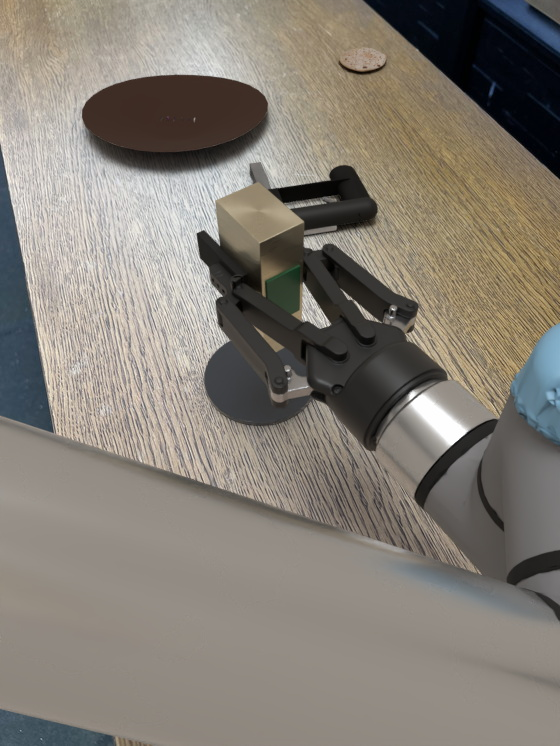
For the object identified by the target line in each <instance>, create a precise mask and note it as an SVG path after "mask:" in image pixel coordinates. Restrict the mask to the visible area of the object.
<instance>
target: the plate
mask: <svg viewBox="0 0 560 746" xmlns="http://www.w3.org/2000/svg"><path fill="white" fill-rule="evenodd" d="M268 112H269V102H268V100H267V98H266V96H265V95H264V94H263V93H262V92H261V91H260V90H259V89H257V88H255V87H254V86H252V85H250V84H247V83H245V82H242V81H239V80H235V79H230V78H226V77H221V76H212V75H203V74H202V75H200V74H162V75H161V74H159V75H150V76H144V77H143V76H142V77H138V78H137V77H136V78H132V79H127V80H123V81H119V82H117V83H114V84H111V85H109V86H107V87H105V88H102V89H100V90H99V91H97V92H95V93H94V94H93V95H91V96H90V97H89V98H88V99H87V100H86V101H85V102H84V105H83V107H82V109H81V120H82V122H83V124H84V127H85V128H86V129H88V130H89V132H91V134H93V135H94V136H96V137H97V138H98V139H101V140H102V141H104V142H106V143H109V144H111V145H115V146H117V147H120V148H124V149H125V148H126V149H130V150H132V151H133V150H134V151H141V152H150V153H151V152H152V153H179V152H189V151H196V150H203V149H206V148H211V147H216V146H218V145H221V144H222V145H223V144H225V143H228V142H231V141H234V140H235V139H238V138H239V137H241V136H244V135H246V134H247V133H249V132H250V131H252V130H253V129H254V128H256V127H258V126H259V124H260V123H261V122H262V121H264V119H265V118H266V115H267V113H268Z"/></svg>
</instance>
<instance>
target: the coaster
mask: <svg viewBox="0 0 560 746" xmlns="http://www.w3.org/2000/svg"><path fill="white" fill-rule="evenodd" d="M276 353H277V354H278V356H279V357H280V359H281V361H282V363H283V365H284V366H285V365H289V366H291V368H292V369H293V370H294V371H295V372H296V374H297V375H299V376H302V377H306V366H304V365H303V364H301V363H300V362H298V361H297V360H296V359H295V357H294V355H293V354H292V353H291V352H290V351H289V350H287V349H286V348H283V349H281V350H279V351H278V352H276ZM203 382H204V383H203V384H204V391H205V394H206V396H207V398H208V400H209V402H210V403H211V405H212V406H213V407H214V409H216V410H217V412H219V413H220V414H221V415H222V416H225V417H226V418H228V419H229V420H232V421H233V422H237V423H240V424H243V425H249V426H259V427H260V426H272V425H276V424H280V423H283V422H285V421H289V420H290V419H291V418H294V417H295V416H297V415H298V414H300V413H301V412H302V411H303V410H304V409H305V408H306V407H307V406H308V405H309V404H310V402H311V401H312V400H313V398H312V397H311V396H310V395H307V396H302V397H297V398H292V399H288V404H287V406H286V407H284V408H282V409H278V408H275V407H274V406H273V405H272V403H271V400H270V396H269V392H268V389H267V385H266V384H265V383H264V381H263V380H262V379H261V378H260V377H259V375H258V374H257V373H256V372H255V370H254V369H253V368H252V367H251V365H250V364H249V363H248V362H247V361H246V359H245V358H244V357H243V356H242V354H241V353H240V352H239V351H238V349H237V348H236V347H235V346H234V345H233V343H232V342H231V341H230V340H228V341H227V342H225V343H224V344H223V345H221V346H220V347H219V348H218V349H217V350H215V351H214V353H213V354H212V355H211V357H210V358H209V360H208V362H207V363H206V366H205V370H204V376H203Z"/></svg>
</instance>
